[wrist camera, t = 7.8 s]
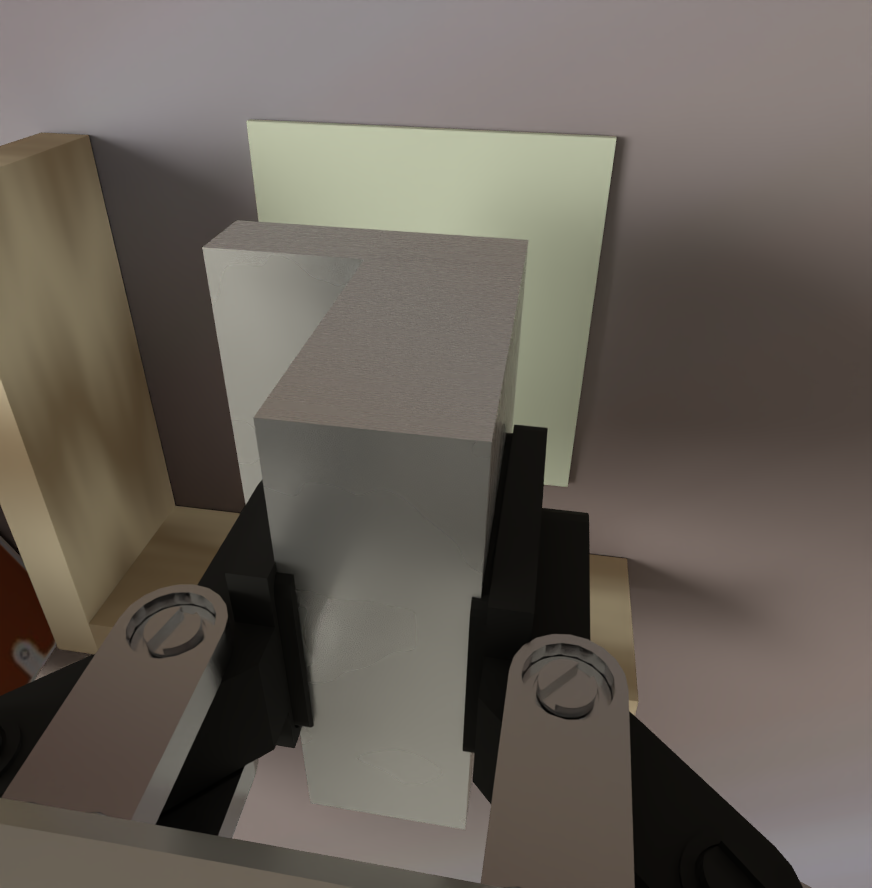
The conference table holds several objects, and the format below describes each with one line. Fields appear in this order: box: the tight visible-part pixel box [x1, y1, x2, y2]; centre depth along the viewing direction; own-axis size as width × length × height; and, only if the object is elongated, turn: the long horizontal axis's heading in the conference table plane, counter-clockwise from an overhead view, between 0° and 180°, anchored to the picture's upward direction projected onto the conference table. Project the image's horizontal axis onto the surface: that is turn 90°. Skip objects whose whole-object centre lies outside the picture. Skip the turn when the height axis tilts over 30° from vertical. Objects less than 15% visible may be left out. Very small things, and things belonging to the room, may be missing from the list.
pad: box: [246, 120, 616, 487], centre depth 18 cm, size 9×8×1 cm
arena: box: [0, 133, 638, 716], centre depth 18 cm, size 12×15×5 cm
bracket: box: [202, 220, 529, 830], centre depth 12 cm, size 5×7×6 cm
